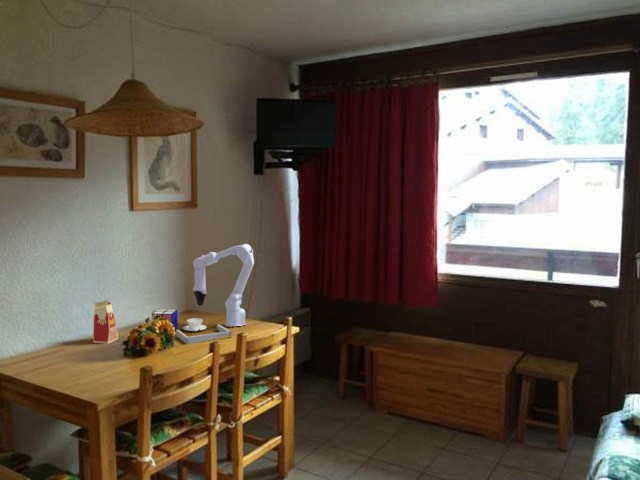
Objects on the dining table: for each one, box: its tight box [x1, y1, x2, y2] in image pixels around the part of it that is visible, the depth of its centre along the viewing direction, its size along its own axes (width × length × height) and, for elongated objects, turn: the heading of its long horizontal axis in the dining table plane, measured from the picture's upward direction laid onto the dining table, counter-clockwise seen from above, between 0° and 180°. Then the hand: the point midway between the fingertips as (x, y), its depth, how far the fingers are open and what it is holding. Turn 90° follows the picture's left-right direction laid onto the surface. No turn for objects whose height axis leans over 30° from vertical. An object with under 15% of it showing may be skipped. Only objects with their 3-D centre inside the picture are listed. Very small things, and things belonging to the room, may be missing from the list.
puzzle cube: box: [151, 308, 179, 330], centre depth 275 cm, size 10×10×10 cm
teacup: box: [182, 317, 208, 332], centre depth 277 cm, size 12×12×5 cm
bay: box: [175, 324, 232, 345], centre depth 265 cm, size 22×16×3 cm
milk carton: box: [92, 299, 119, 345], centre depth 255 cm, size 9×9×20 cm
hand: (200, 305), depth 288 cm, fingers closed
